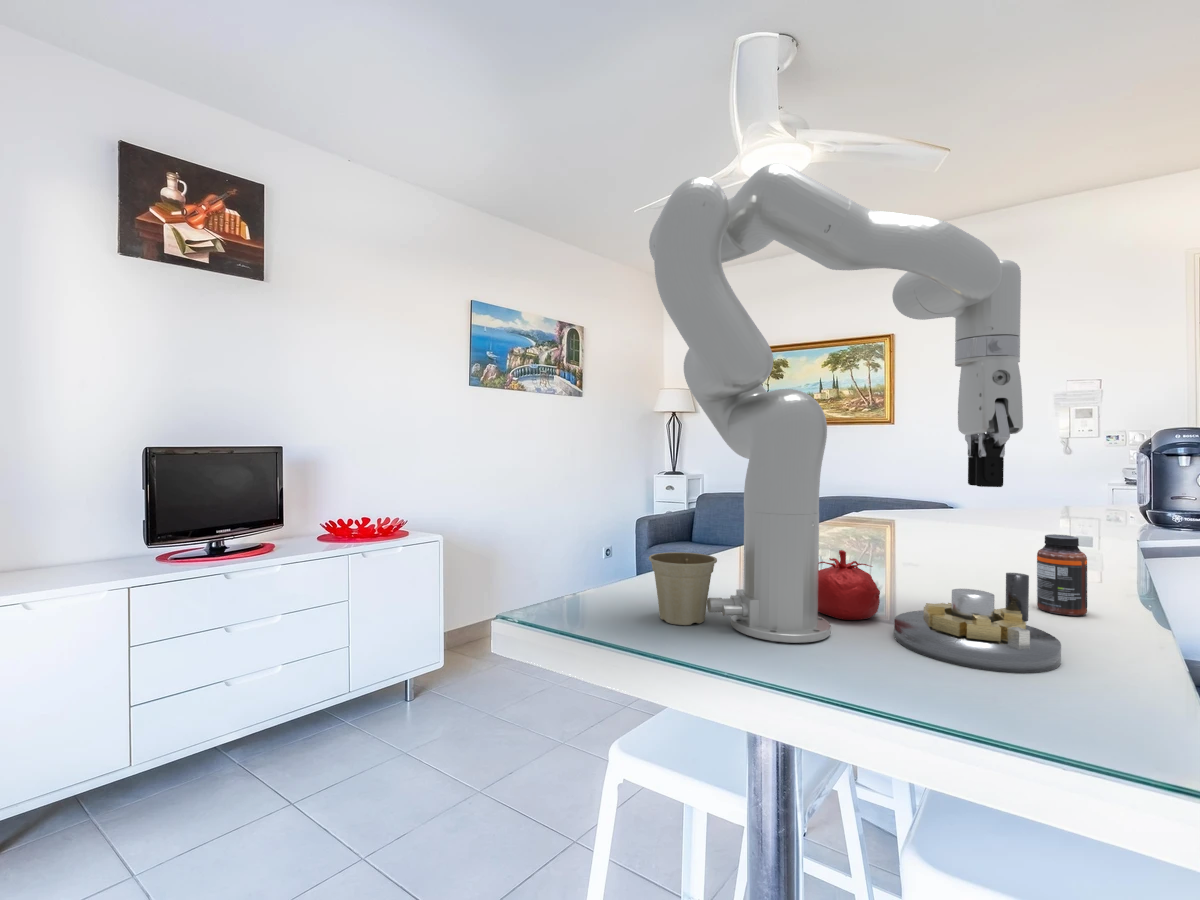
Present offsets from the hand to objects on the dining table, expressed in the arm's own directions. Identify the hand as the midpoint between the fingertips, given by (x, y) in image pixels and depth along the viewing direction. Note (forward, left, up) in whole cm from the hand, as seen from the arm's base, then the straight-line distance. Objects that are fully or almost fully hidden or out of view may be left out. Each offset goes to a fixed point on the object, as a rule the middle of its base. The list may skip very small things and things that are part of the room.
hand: (985, 485), depth 81 cm
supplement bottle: (+16, +5, -19) cm, 26 cm away
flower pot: (-42, +4, -19) cm, 46 cm away
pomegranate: (-18, +5, -19) cm, 27 cm away
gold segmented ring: (-6, -8, -17) cm, 20 cm away
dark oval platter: (-9, -9, -19) cm, 23 cm away
